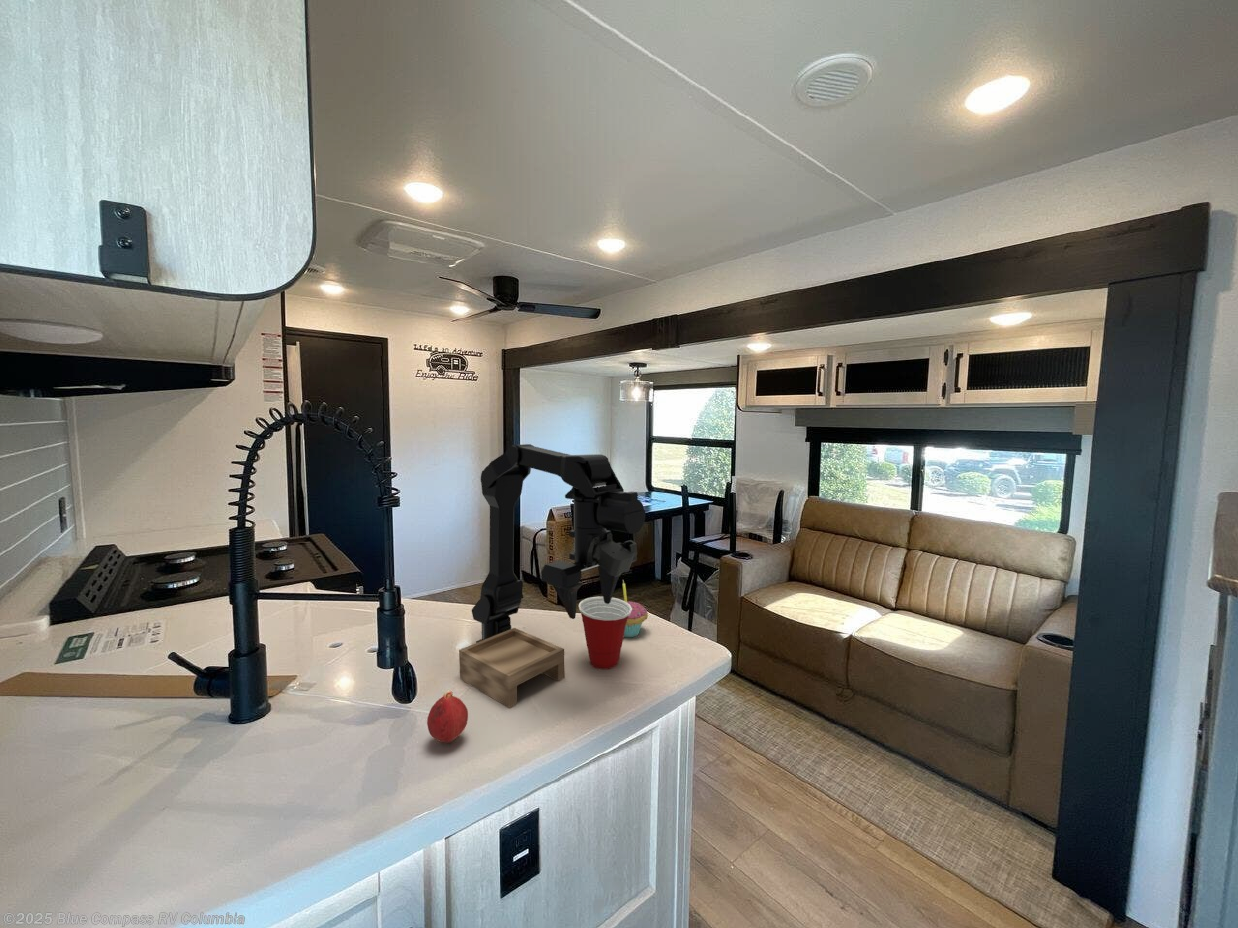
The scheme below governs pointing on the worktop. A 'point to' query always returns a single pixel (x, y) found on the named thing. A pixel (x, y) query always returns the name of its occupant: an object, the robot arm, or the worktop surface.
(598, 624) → the plastic cup
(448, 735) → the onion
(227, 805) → the worktop surface
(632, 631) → the cupcake
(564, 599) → the robot arm
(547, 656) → the shelf
